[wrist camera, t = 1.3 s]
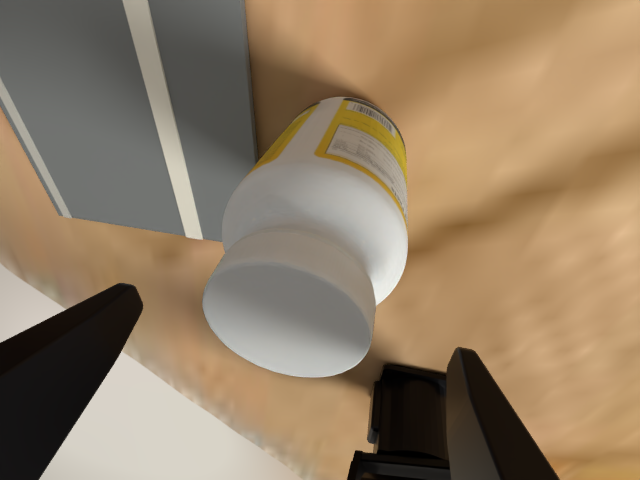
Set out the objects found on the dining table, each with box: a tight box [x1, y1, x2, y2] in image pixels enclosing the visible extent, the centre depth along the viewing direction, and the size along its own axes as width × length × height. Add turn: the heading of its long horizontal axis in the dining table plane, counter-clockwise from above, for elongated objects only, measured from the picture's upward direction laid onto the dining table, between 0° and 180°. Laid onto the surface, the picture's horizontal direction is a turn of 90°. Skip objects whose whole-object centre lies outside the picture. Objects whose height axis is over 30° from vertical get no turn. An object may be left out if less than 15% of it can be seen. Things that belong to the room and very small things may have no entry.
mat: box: [0, 0, 258, 242], centre depth 19 cm, size 16×14×1 cm
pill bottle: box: [202, 97, 408, 377], centre depth 13 cm, size 6×6×12 cm
